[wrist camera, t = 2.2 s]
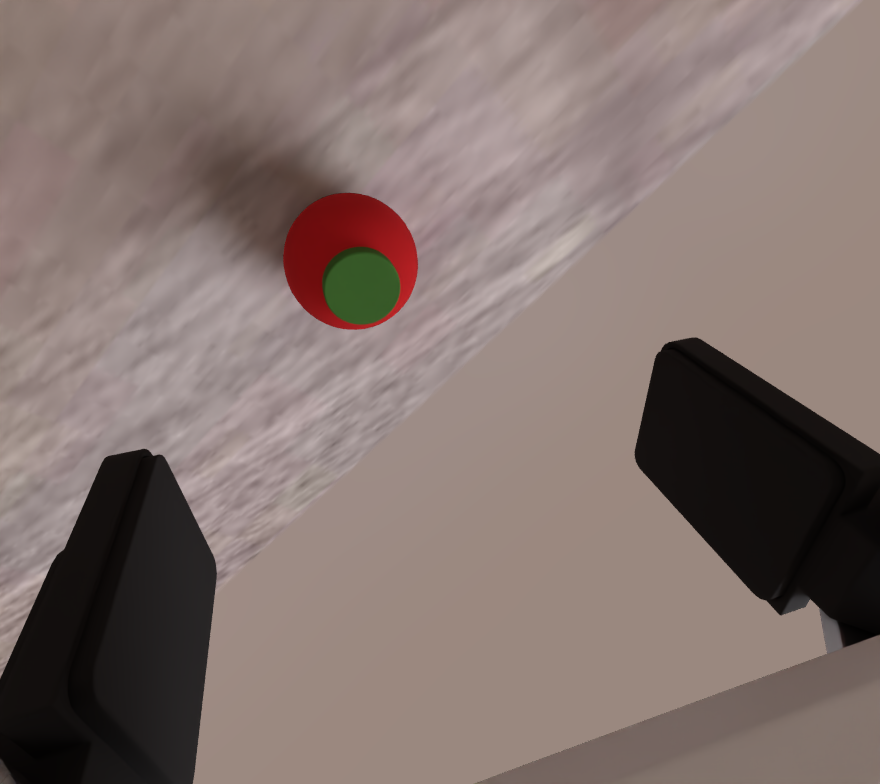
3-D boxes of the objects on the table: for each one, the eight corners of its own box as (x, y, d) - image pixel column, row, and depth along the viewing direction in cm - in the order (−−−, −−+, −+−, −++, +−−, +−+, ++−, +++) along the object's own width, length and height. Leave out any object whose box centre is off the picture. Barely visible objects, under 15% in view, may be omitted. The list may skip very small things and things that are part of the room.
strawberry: (268, 188, 17) (268, 225, 14) (395, 173, 18) (429, 204, 14) (296, 307, 20) (303, 367, 16) (407, 289, 21) (438, 342, 17)
